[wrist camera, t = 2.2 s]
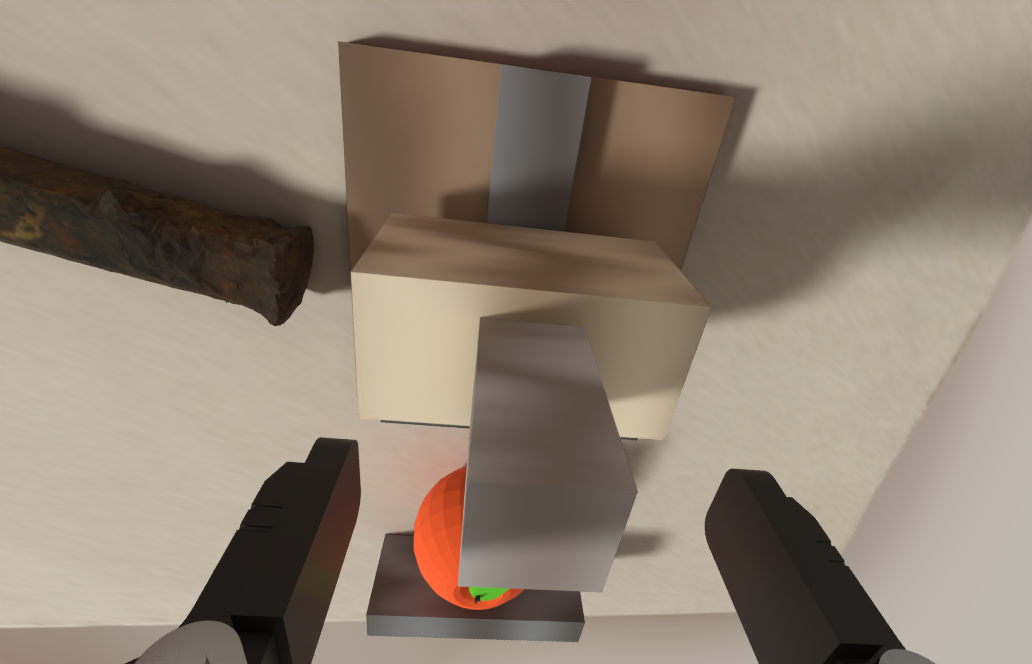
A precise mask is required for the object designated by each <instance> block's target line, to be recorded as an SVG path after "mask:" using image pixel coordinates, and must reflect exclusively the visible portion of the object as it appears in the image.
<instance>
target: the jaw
mask: <svg viewBox="0 0 1032 664" xmlns="http://www.w3.org/2000/svg"><path fill="white" fill-rule="evenodd" d="M351 284H352V302H353V321H354V340H355V359H356V378H357V396H358V415H359V418H362V419H376V420H381V422H386V423H400V424H414V425H428V426H443V427H457V428H470V432H469V445H468V458H467V471H466V484H465V497H464V511H463V524H462V537H461V550H460V563H459V577H458V586H463V587H487V588H512V589H536V590H561V591H585V592H602V591H603V588H604V585H605V583H606V580H607V577H608V574H609V571H610V568H611V566H612V563H613V560H614V557H615V554H616V551H617V549H618V546H619V543H620V540H621V537H622V535H623V532H624V529H625V526H626V523H627V520H628V518H629V515H630V512H631V509H632V506H633V503H634V501H635V498H636V495H637V492H638V491H637V488H636V485H635V482H634V479H633V476H632V473H631V470H630V467H629V464H628V460H627V457H626V454H625V451H624V448H623V445H622V442H621V439H627V440H637V439H638V438H644V439H658V440H664V437H665V435H666V432H667V429H668V426H669V424H670V421H671V418H672V415H673V413H674V410H675V407H676V404H677V402H678V399H679V396H680V393H681V391H682V388H683V385H684V383H685V380H686V377H687V374H688V372H689V369H690V366H691V363H692V361H693V358H694V355H695V352H696V350H697V347H698V344H699V341H700V339H701V336H702V333H703V330H704V328H705V325H706V322H707V319H708V317H709V314H710V311H711V308H712V307H711V306H710V305H709V303H708V302H707V301H706V300H705V299H704V298H703V296H702V295H701V294H700V293H699V292H698V291H697V290H696V288H695V287H694V286H693V285H692V284H691V283H690V281H689V280H688V279H687V278H686V277H685V276H684V275H683V273H682V272H681V271H680V270H679V269H678V268H677V266H676V265H675V264H674V263H673V262H672V261H671V260H670V258H669V257H668V256H667V255H666V254H665V253H664V251H663V250H662V249H661V248H660V247H659V246H658V245H657V243H656V242H653V241H644V240H635V239H626V238H617V237H608V236H599V235H589V234H580V233H571V232H562V231H553V230H544V229H535V228H526V227H516V226H507V225H498V224H489V223H480V222H471V221H462V220H453V219H443V218H434V217H425V216H416V215H407V214H398V213H391V215H390V216H389V218H388V219H387V221H386V222H385V223H384V225H383V226H382V228H381V229H380V231H379V232H378V234H377V235H376V236H375V238H374V239H373V241H372V242H371V244H370V245H369V247H368V248H367V249H366V251H365V252H364V254H363V255H362V257H361V258H360V260H359V261H358V262H357V264H356V265H355V267H354V268H353V270H352V271H351Z"/></svg>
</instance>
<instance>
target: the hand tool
mask: <svg viewBox="0 0 1032 664" xmlns="http://www.w3.org/2000/svg"><path fill="white" fill-rule="evenodd" d="M0 241H1V242H4V243H8V244H12V245H15V246H19V247H23V248H27V249H30V250H34V251H38V252H42V253H46V254H50V255H54V256H57V257H60V258H63V259H66V260H70V261H74V262H78V263H82V264H85V265H89V266H93V267H97V268H100V269H104V270H107V271H110V272H116V273H121V274H124V275H128V276H131V277H135V278H139V279H142V280H146V281H150V282H154V283H158V284H162V285H165V286H168V287H172V288H176V289H180V290H185V291H190V292H194V293H198V294H203V295H206V296H209V297H212V298H215V299H219V300H224V301H226V303H227V302H230V303H232V304H238V305H243V306H245V307H248V308H250V309H253V310H254V311H256V312H258V313H260V314H261V315H262V316H264V317H265V318H266V319H267V320H268V321H269V323H270V324H272V325H274V326H277V325H281V324H284V323H285V322H286V321H287V320H288V319H289V318H290V316H291V315H292V313H293V312H294V310H295V309H296V308H297V306H299V305H300V304H301V302H302V298H303V295H304V292H305V289H306V286H307V281H308V277H309V273H310V269H311V265H312V259H313V234H312V230H311V228H310V227H307V226H298V227H295V228H293V229H284V228H282V227H281V226H280V225H279V224H278V223H276V222H275V221H274V220H273V219H267V218H262V217H259V216H256V217H253V218H250V219H249V218H245V217H241V216H238V215H234V214H230V213H227V212H224V211H220V210H217V209H214V208H212V207H209V206H207V205H205V204H202V203H200V202H196V201H191V200H187V199H185V198H182V197H178V196H172V195H167V194H160V193H156V192H153V191H148V190H145V189H142V188H139V187H137V186H134V185H132V184H130V183H129V182H128V181H126V180H115V179H112V178H108V177H104V176H100V175H96V174H92V173H89V172H85V171H82V170H79V169H76V168H72V167H68V166H64V165H60V164H57V163H53V162H50V161H46V160H43V159H39V158H36V157H33V156H30V155H26V154H23V153H20V152H16V151H12V150H9V149H5V148H2V147H0Z"/></svg>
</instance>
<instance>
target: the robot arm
mask: <svg viewBox="0 0 1032 664" xmlns="http://www.w3.org/2000/svg"><path fill="white" fill-rule="evenodd" d="M360 497H361V486H360V468H359V450H358V442H357V440H349V439H335V438H322V437H320V438H318V439H317V440H316V441H315V443H314V445H313V447H312V449H311V451H310V453H309V455H308V457H307V459H306V461H305V463H298V462H286V463H285V464H284V465H283V466H282V467H280V468H279V469H278V470H277V471H276V472H275V473H274V474H272V475H271V476H270V477H269V478H268V479H267V480H266V481H265V482H264V484H263V485H262V487H261V489H260V491H259V492H258V494H257V496H256V498H255V499H254V501H253V503H252V505H251V509H250V510H248V512H247V513H246V515H245V517H244V519H243V521H242V522H241V524H240V529H239V530H237V531H236V533H235V535H234V536H233V538H232V540H231V542H230V543H229V545H228V547H227V549H226V550H225V552H224V554H223V556H222V558H221V559H220V561H219V563H218V565H217V566H216V568H215V570H214V572H213V573H212V575H211V577H210V579H209V580H208V582H207V584H206V586H205V587H204V589H203V591H202V593H201V595H200V596H199V598H198V600H197V602H196V603H195V605H194V607H193V609H192V610H191V612H190V613H189V615H188V616H187V618H186V619H185V620H184V622H183V623H182V624H181V625H180V626H179V628H177V629H175V630H173V631H172V632H170V633H168V634H166V635H165V636H163V637H162V638H161V639H159V640H158V641H156V642H155V643H154V644H153V645H151V646H150V647H149V648H148V649H147V650H146V651H145V652H144V653H143V654H142V655H141V656H140V657H139V658H137V659H134V660H132V661H130V662H128V663H125V664H311V662H312V659H313V656H314V653H315V650H316V647H317V643H318V640H319V637H320V634H321V631H322V628H323V625H324V621H325V618H326V615H327V612H328V609H329V606H330V603H331V599H332V596H333V593H334V590H335V587H336V584H337V581H338V577H339V574H340V571H341V568H342V565H343V562H344V559H345V555H346V552H347V549H348V546H349V543H350V540H351V537H352V533H353V530H354V527H355V524H356V521H357V517H358V512H359V506H360ZM705 535H706V540H707V543H708V546H709V548H710V550H711V553H712V555H713V557H714V560H715V562H716V564H717V567H718V569H719V571H720V574H721V576H722V578H723V581H724V583H725V586H726V588H727V590H728V593H729V595H730V597H731V600H732V602H733V604H734V607H735V609H736V611H737V614H738V616H739V618H740V621H741V623H742V625H743V628H744V630H745V632H746V634H747V637H748V639H749V642H750V644H751V646H752V649H753V651H754V653H755V656H756V658H757V660H758V662H759V664H935V663H934V662H932V661H930V660H929V659H927V658H925V657H923V656H921V655H919V654H917V653H914V652H911V651H908V650H906V649H905V648H904V646H903V645H902V644H901V642H900V641H899V640H898V638H897V637H896V635H895V634H894V632H893V631H892V629H891V628H890V627H889V625H888V624H887V622H886V621H885V619H884V618H883V616H882V615H881V613H880V612H879V611H878V609H877V607H876V606H875V605H874V603H873V602H872V600H871V599H870V597H869V596H868V594H867V593H866V592H865V590H864V589H863V587H862V586H861V585H860V583H859V581H858V580H857V578H856V577H855V575H854V574H853V573H852V571H851V570H850V568H849V567H848V566H845V564H844V559H843V558H842V557H841V555H840V554H839V552H838V551H837V549H836V548H835V546H832V545H831V541H830V539H829V538H828V536H827V535H826V533H825V532H824V530H823V529H822V527H821V526H820V525H819V523H818V522H817V520H816V519H815V518H814V517H813V516H812V515H811V514H810V513H809V512H808V511H807V510H806V509H804V508H803V507H802V506H801V505H800V504H799V503H798V502H797V501H796V500H795V499H793V498H792V497H786V495H785V494H784V492H783V491H782V489H781V488H780V486H779V485H778V483H777V481H776V480H775V478H774V477H773V476H772V475H771V474H770V473H769V472H767V471H760V470H746V469H730V470H728V471H727V472H726V474H725V476H724V478H723V480H722V482H721V484H720V486H719V489H718V491H717V493H716V495H715V497H714V499H713V501H712V504H711V506H710V508H709V510H708V512H707V515H706V518H705Z"/></svg>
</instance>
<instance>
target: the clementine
mask: <svg viewBox="0 0 1032 664" xmlns="http://www.w3.org/2000/svg"><path fill="white" fill-rule="evenodd" d="M466 471H467V466H466V467H463V468H460V469H458V470H456V471H454V472H452V473H451V474H449V475H447V476H446V477H444V478H442V479H441V480H440V481H439V482H438V483H437V484H436V485H435V486H434V487H433V488H432V489H431V490H430V492H429V493H428V494H427V496H426V497H425V498H424V500H423V502H422V505H421V507H420V509H419V512H418V515H417V517H416V520H415V525H414V553H415V556H416V559H417V563H418V566H419V569H420V571H421V574H422V576H423V577H424V578H425V580H426V581H427V583H428V584H429V585H430V587H431V588H432V589H433V590H434V591H435V593H436V594H438V595H439V596H441V597H442V598H444V599H445V600H447V601H449V602H451V603H453V604H455V605H457V606H460V607H462V608H467V609H474V610H482V609H489V608H493V607H497V606H499V605H501V604H503V603H505V602H507V601H509V600H511V599H513V598H515V597H516V596H517V595H519V594H520V593H521V592H522V591H523V590H524V589H512V588H487V587H463V586H458V577H459V563H460V550H461V537H462V524H463V511H464V497H465V484H466Z"/></svg>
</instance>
